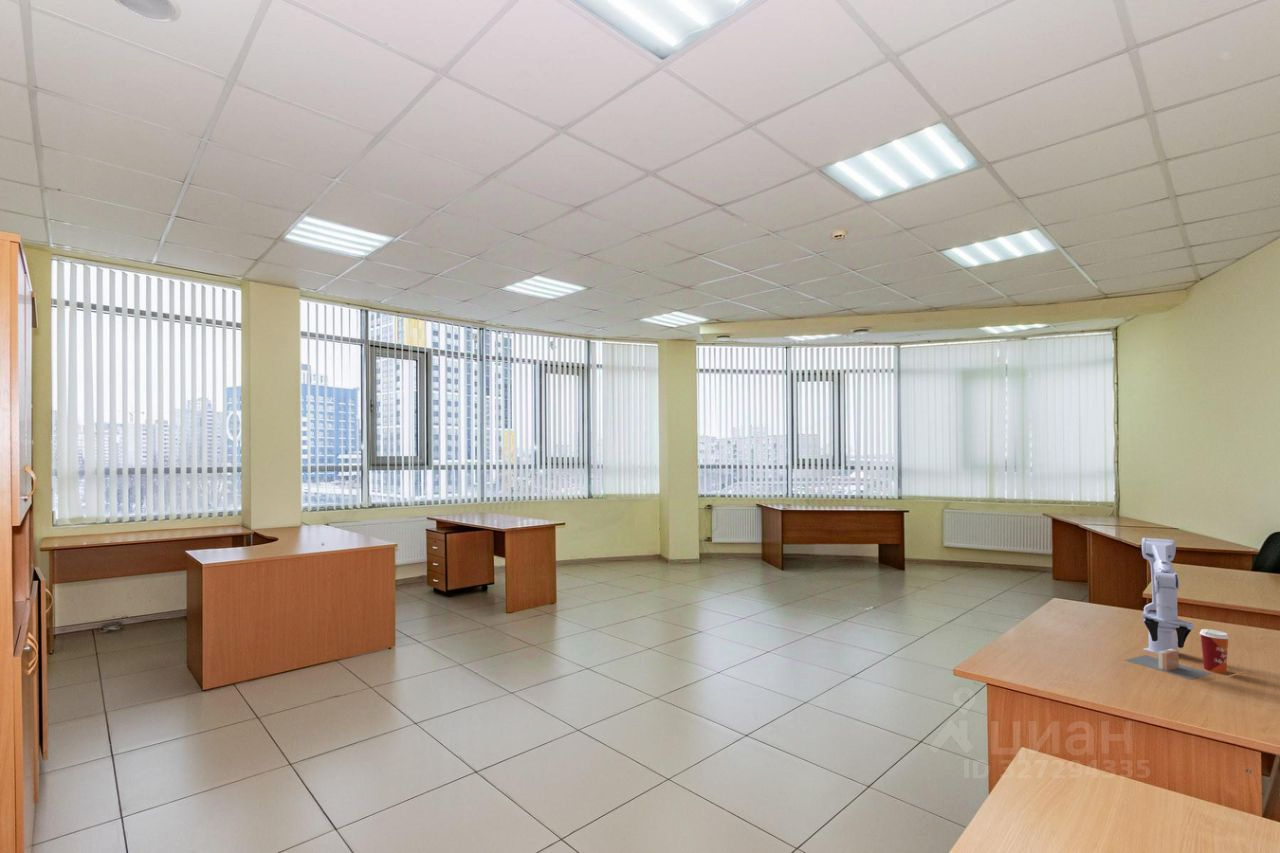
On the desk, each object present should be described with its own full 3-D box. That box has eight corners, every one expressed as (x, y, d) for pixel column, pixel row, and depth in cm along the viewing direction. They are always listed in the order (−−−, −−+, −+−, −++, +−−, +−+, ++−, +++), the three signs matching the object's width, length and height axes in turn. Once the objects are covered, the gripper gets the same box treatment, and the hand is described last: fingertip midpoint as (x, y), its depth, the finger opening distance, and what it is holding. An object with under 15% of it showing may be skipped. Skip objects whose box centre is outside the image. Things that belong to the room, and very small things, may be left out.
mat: (1145, 656, 226) (1145, 655, 226) (1212, 674, 208) (1212, 673, 208) (1124, 661, 221) (1124, 660, 221) (1191, 680, 202) (1191, 679, 202)
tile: (1170, 665, 216) (1170, 648, 216) (1178, 667, 213) (1178, 650, 214) (1158, 668, 212) (1158, 651, 213) (1166, 670, 210) (1166, 653, 210)
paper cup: (1224, 676, 206) (1223, 636, 207) (1196, 669, 213) (1195, 630, 213) (1234, 673, 210) (1233, 633, 210) (1205, 665, 217) (1204, 627, 217)
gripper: (1137, 602, 219) (1137, 639, 218) (1186, 612, 206) (1186, 651, 205) (1147, 600, 222) (1148, 636, 221) (1196, 610, 209) (1197, 649, 208)
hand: (1167, 644), depth 213 cm, fingers open, 7 cm apart
